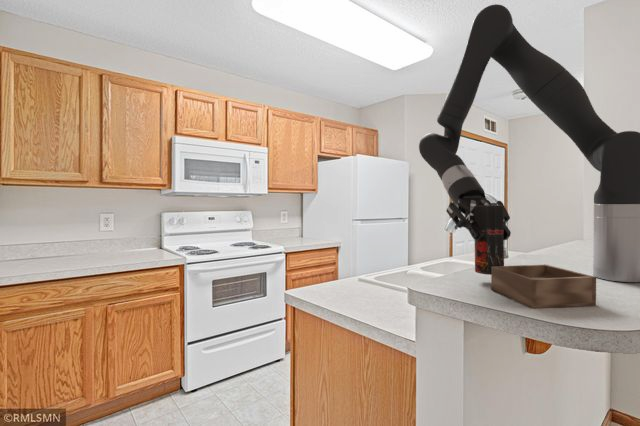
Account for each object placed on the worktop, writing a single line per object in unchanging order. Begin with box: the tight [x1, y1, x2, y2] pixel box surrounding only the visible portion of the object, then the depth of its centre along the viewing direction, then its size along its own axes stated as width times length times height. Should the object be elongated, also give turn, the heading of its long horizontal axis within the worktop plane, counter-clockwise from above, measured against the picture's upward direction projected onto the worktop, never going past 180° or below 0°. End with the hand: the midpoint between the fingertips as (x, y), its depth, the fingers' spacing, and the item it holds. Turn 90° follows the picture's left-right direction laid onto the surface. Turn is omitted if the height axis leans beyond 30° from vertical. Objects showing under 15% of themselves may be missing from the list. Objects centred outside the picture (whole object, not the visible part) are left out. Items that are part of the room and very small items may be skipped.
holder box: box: [490, 263, 597, 309], centre depth 66 cm, size 12×12×5 cm
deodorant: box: [474, 204, 505, 276], centre depth 77 cm, size 6×6×15 cm
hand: (494, 238), depth 76 cm, fingers closed on deodorant, 6 cm apart
